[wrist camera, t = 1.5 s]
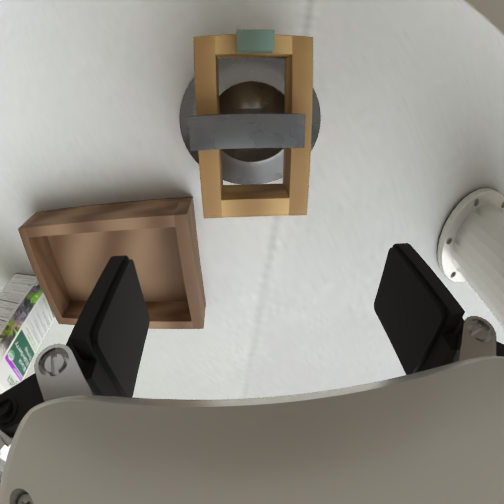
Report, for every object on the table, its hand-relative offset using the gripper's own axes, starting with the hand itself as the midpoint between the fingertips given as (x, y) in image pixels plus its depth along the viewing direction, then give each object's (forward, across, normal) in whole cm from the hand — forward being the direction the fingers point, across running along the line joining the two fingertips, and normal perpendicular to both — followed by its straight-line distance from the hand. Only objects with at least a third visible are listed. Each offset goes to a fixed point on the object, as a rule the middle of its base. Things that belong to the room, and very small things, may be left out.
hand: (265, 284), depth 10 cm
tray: (+16, +13, +9) cm, 22 cm away
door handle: (+16, 0, -4) cm, 16 cm away
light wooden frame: (+13, 0, -4) cm, 14 cm away
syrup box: (+16, +27, +13) cm, 34 cm away
